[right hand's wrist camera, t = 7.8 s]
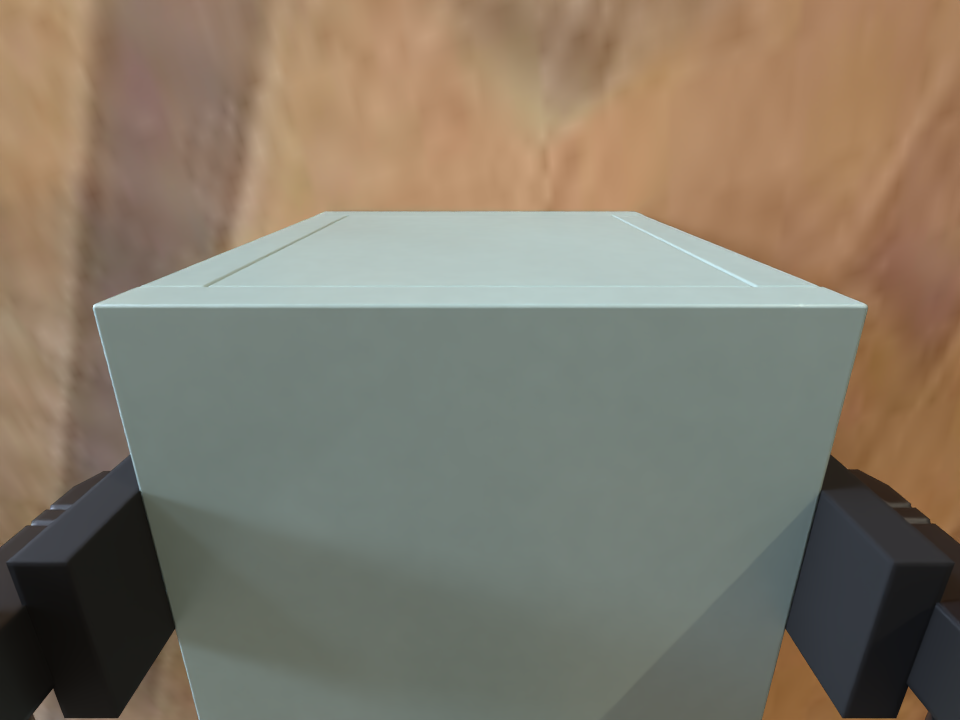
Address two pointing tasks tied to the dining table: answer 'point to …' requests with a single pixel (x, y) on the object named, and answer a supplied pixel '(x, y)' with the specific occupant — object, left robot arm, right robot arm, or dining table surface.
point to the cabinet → (480, 465)
